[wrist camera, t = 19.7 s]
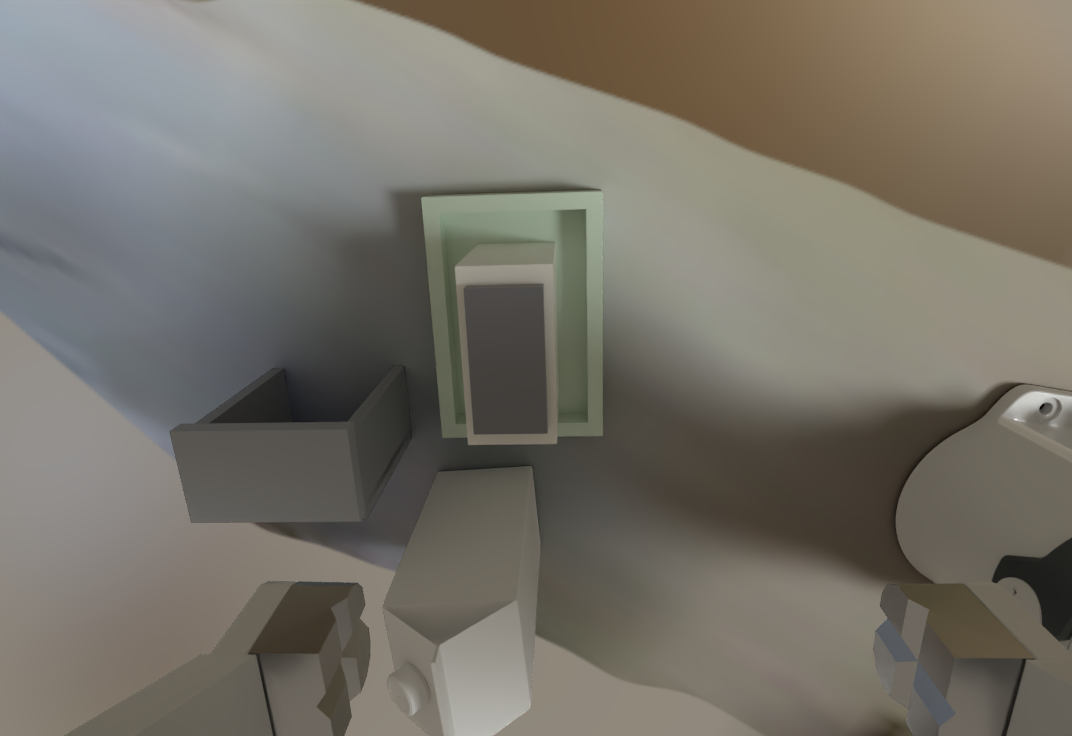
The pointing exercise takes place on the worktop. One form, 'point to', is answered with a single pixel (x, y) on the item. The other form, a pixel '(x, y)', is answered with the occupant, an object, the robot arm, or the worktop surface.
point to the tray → (578, 282)
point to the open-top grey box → (291, 456)
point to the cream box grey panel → (509, 343)
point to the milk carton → (467, 604)
